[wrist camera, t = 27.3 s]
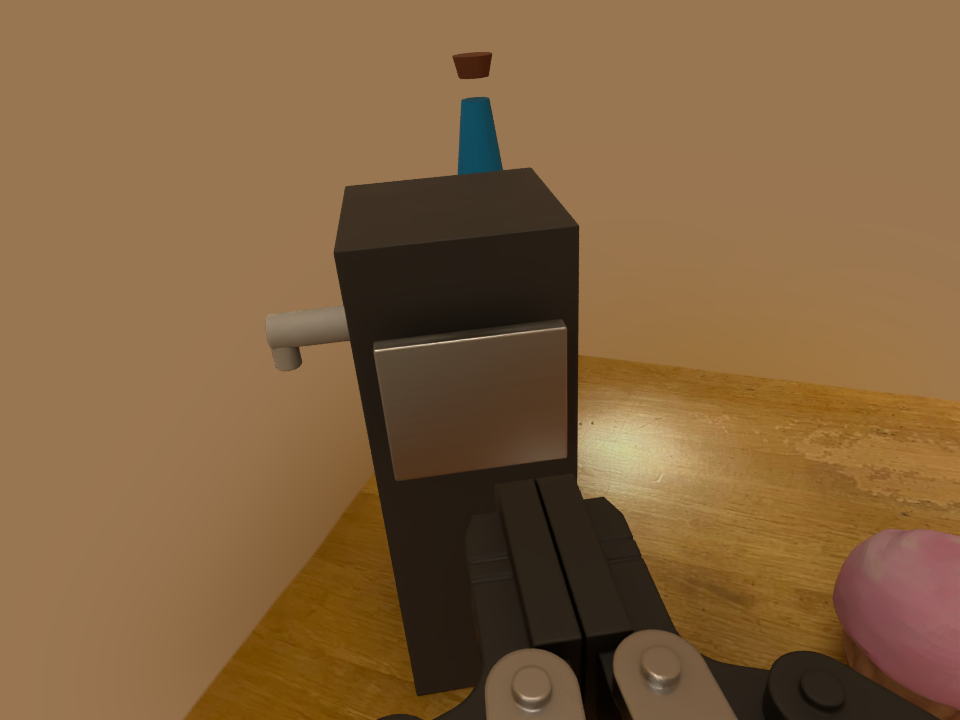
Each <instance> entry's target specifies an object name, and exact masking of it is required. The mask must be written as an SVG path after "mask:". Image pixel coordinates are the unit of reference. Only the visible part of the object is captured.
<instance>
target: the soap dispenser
mask: <svg viewBox="0 0 960 720" xmlns="http://www.w3.org/2000/svg"><path fill="white" fill-rule="evenodd" d="M334 258H335V263H336V268H337V274H338V279H339V284H340V289H341V295H342V300H343V306H337V307H328V308H319V309H310V310H302V311H294V312H286V313H285V312H284V313H276V314H269V315H267V316H266V320H265V330H266V336H267V341H268V344H269V346H270V348H271V350H272V354H273V358H274V362H275V366H276V368H277V369H278V370H280V371H291V370H294V369H297V368H298V367H300V365H301V364H302V359H301V355H300V350H299V347H300V346H309V345H317V344H325V343H334V342H341V341H350V342H351V348H352V353H353V358H354V364H355V369H356V375H357V380H358V385H359V390H360V396H361V401H362V406H363V412H364V417H365V422H366V427H367V433H368V438H369V444H370V449H371V454H372V459H373V465H374V470H375V475H376V481H377V486H378V491H379V497H380V502H381V507H382V513H383V518H384V523H385V529H386V534H387V539H388V545H389V550H390V555H391V560H392V566H393V571H394V576H395V582H396V587H397V592H398V598H399V603H400V608H401V614H402V619H403V624H404V630H405V635H406V640H407V645H408V651H409V656H410V661H411V667H412V672H413V677H414V683H415V688H416V693H417V696H419V695H425V694H431V693H437V692H443V691H450V690H456V689H462V688H468V687H474V686H476V684H477V682H478V680H479V678H480V674H481V666H480V659H479V652H478V645H477V638H476V632H475V625H474V617H473V611H472V604H471V597H470V590H469V580H468V570H467V560H466V550H465V540H464V536H465V533H466V531H467V528H468V525H469V522H470V520H471V517H472V515H477V514H484V513H492V512H496V501H495V484H499V483H507V482H514V481H522V480H529V479H532V480H533V481H534V479H535V478H542V477H550V476H557V475H565V474H573V476H574V477H575V480H576V482H577V437H578V304H579V300H578V297H579V296H578V295H579V225H578V224H577V223H576V221H575V220H574V219H573V218H572V216H571V215H570V214H569V213H568V212H567V210H566V209H565V208H564V207H563V206H562V204H561V203H560V202H559V201H558V200H557V198H556V197H555V196H554V195H553V194H552V192H551V191H550V190H549V189H548V187H547V186H546V185H545V184H544V183H543V181H542V180H541V179H540V178H539V177H538V175H537V174H536V173H535V172H534V170H533V169H532V168H521V169H511V170H502V171H492V172H482V173H472V174H462V175H452V176H444V177H434V178H423V179H413V180H403V181H393V182H384V183H374V184H364V185H355V186H346V187H345V191H344V197H343V203H342V208H341V214H340V220H339V225H338V231H337V237H336V242H335V248H334ZM556 319H562V320H563V322H564V324H565V326H566V328H567V458H563V459H555V460H548V461H541V462H533V463H526V464H519V465H512V466H504V467H497V468H490V469H482V470H475V471H468V472H461V473H453V474H446V475H439V476H431V477H424V478H417V479H410V480H402V481H396V480H395V476H394V470H393V464H392V458H391V452H390V446H389V440H388V435H387V429H386V423H385V417H384V411H383V405H382V399H381V393H380V387H379V382H378V376H377V370H376V364H375V358H374V352H373V351H374V342H375V341H382V340H390V339H398V338H407V337H415V336H423V335H432V334H440V333H448V332H457V331H465V330H473V329H481V328H490V327H498V326H506V325H515V324H523V323H531V322H540V321H548V320H556Z"/></svg>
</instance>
